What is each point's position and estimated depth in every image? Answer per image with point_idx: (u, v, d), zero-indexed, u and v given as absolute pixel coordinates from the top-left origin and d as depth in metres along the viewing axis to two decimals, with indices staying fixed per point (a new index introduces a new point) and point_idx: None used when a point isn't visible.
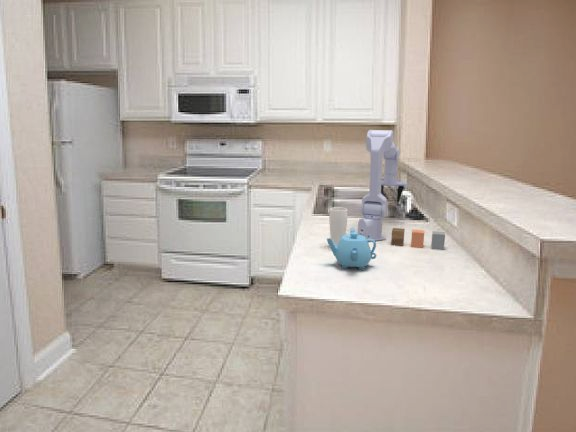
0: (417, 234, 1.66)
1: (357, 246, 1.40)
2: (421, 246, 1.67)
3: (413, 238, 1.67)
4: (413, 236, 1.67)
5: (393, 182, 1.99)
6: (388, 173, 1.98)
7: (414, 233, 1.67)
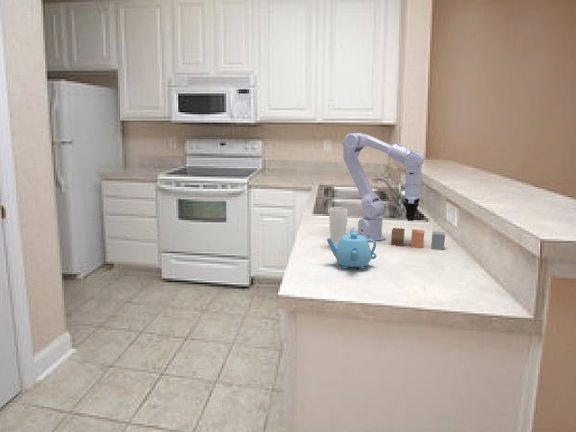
0: (417, 234, 1.66)
1: (357, 246, 1.40)
2: (421, 246, 1.67)
3: (413, 238, 1.67)
4: (413, 236, 1.67)
5: (406, 194, 1.67)
6: None
7: (414, 233, 1.67)
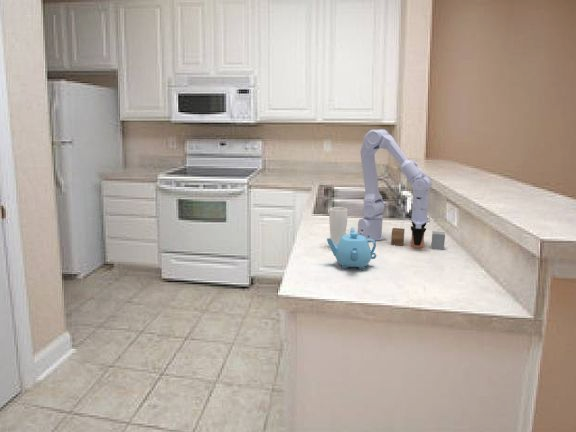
0: None
1: (357, 246, 1.40)
2: (421, 246, 1.67)
3: None
4: None
5: (413, 218, 1.66)
6: None
7: None
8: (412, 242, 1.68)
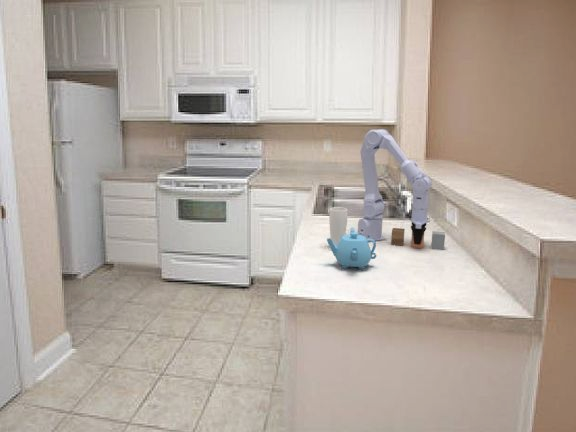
0: None
1: (357, 246, 1.40)
2: (421, 246, 1.67)
3: (413, 238, 1.67)
4: None
5: (413, 218, 1.66)
6: None
7: None
8: (412, 242, 1.68)
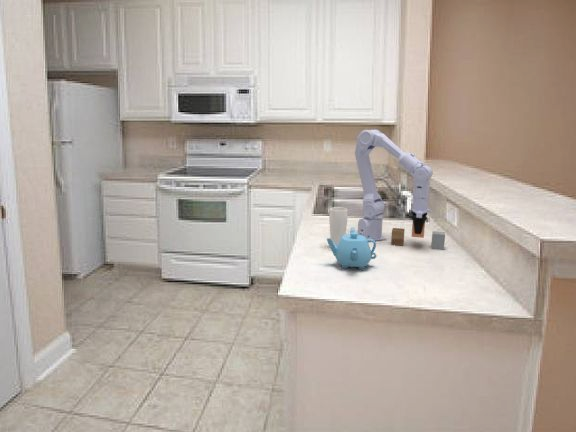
0: None
1: (357, 246, 1.40)
2: (422, 236, 1.66)
3: None
4: None
5: (413, 207, 1.65)
6: None
7: None
8: (413, 232, 1.67)
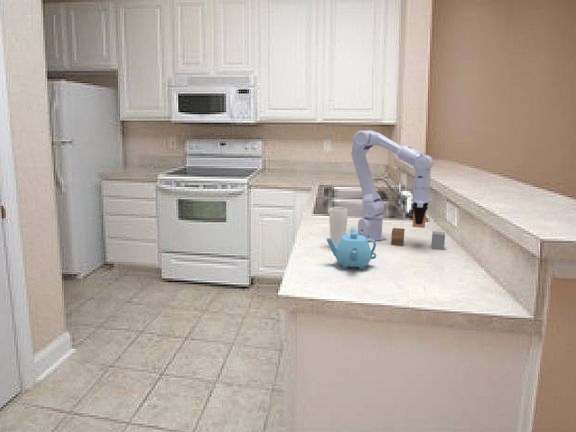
0: None
1: (357, 246, 1.40)
2: (423, 226, 1.65)
3: None
4: None
5: (414, 197, 1.64)
6: None
7: None
8: (414, 222, 1.66)
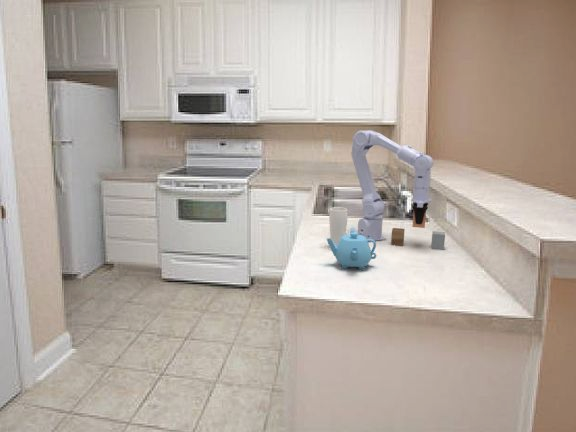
0: None
1: (357, 246, 1.40)
2: (423, 226, 1.65)
3: None
4: None
5: (414, 197, 1.64)
6: None
7: None
8: (414, 222, 1.66)
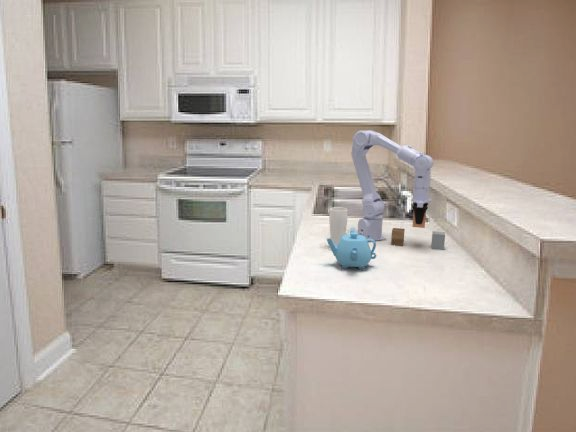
0: None
1: (357, 246, 1.40)
2: (423, 226, 1.65)
3: None
4: None
5: (414, 197, 1.64)
6: None
7: None
8: (414, 222, 1.66)
